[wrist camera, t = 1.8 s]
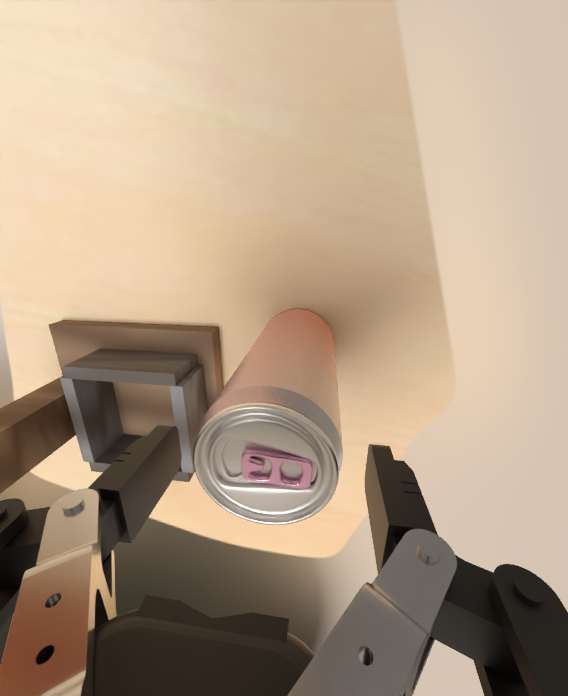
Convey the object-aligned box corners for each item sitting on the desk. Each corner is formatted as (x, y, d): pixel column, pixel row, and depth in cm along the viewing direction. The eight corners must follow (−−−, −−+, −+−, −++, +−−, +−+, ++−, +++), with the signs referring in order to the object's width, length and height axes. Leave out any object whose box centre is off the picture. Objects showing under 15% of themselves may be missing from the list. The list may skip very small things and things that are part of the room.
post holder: (62, 320, 27) (-325, 438, 11) (218, 327, 25) (26, 481, 9) (95, 444, 32) (-141, 653, 16) (228, 457, 30) (114, 710, 14)
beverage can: (329, 377, 26) (332, 541, 12) (262, 369, 26) (190, 515, 12) (338, 311, 24) (356, 413, 10) (265, 303, 24) (183, 390, 10)
